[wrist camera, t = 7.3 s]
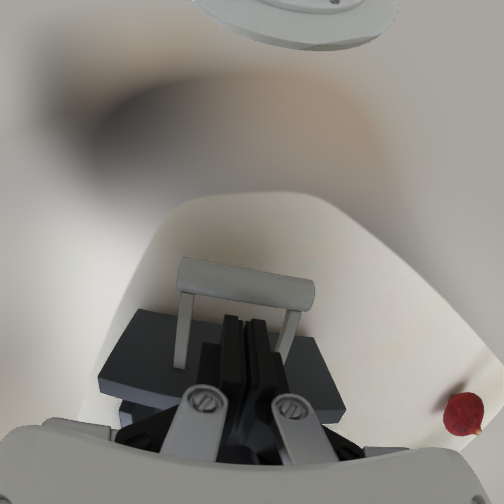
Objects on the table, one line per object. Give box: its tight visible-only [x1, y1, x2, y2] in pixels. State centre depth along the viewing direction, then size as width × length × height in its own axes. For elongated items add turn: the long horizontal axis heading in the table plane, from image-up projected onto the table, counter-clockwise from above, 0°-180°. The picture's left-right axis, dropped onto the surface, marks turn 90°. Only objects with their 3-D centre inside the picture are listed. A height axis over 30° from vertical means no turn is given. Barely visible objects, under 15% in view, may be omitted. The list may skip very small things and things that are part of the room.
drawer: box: [98, 257, 346, 465], centre depth 16 cm, size 20×13×7 cm, turn 168°
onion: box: [443, 392, 484, 436], centre depth 22 cm, size 6×6×8 cm
